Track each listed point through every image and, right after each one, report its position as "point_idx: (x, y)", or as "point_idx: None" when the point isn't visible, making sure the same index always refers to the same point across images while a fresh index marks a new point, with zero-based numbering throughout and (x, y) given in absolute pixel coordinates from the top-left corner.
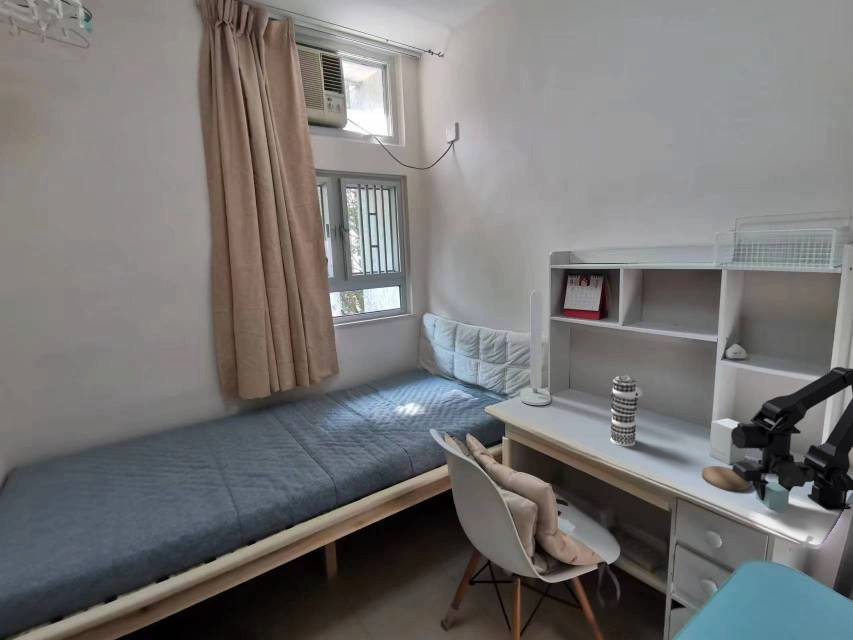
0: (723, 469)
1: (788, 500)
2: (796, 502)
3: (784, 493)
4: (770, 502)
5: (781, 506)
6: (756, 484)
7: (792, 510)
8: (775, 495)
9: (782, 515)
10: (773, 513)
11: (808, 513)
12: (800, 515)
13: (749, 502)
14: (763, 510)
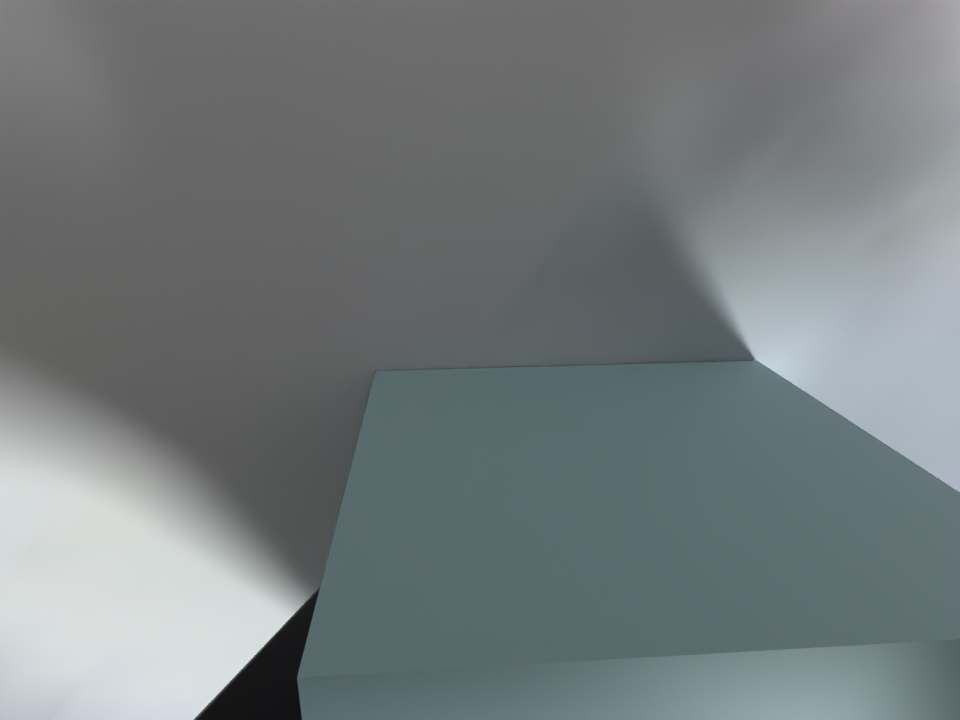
0: None
1: (353, 457)
2: (63, 574)
3: (516, 596)
4: (803, 415)
5: (510, 385)
6: None
7: (323, 306)
8: (808, 531)
9: (670, 115)
10: (796, 191)
11: (41, 195)
12: (274, 114)
13: None
14: (901, 296)
